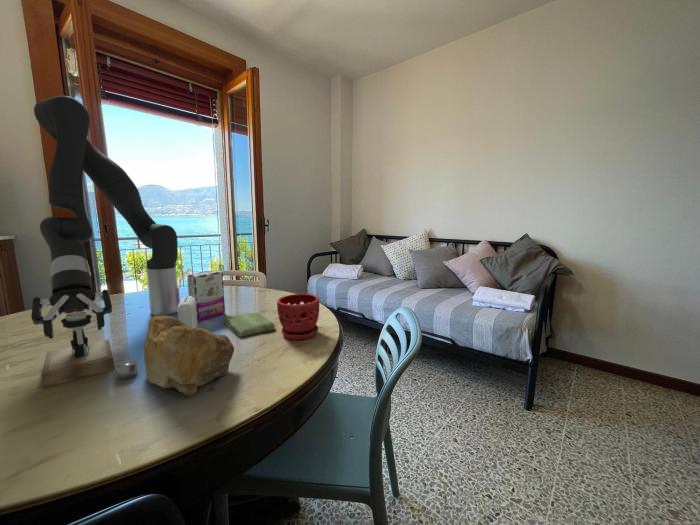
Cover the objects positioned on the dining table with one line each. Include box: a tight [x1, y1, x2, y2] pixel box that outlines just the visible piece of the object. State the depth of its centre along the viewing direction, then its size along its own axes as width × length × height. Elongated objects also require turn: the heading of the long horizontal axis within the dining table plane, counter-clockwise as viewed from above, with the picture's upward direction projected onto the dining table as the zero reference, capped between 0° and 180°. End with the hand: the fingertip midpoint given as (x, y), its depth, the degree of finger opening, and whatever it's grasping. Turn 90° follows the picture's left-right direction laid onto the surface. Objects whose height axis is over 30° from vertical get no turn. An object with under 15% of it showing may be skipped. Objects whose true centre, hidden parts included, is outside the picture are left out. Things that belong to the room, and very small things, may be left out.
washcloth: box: [223, 311, 275, 338], centre depth 101 cm, size 13×18×3 cm
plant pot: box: [276, 293, 320, 341], centre depth 94 cm, size 13×13×12 cm
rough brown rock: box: [143, 315, 235, 397], centre depth 68 cm, size 23×17×15 cm
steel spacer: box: [114, 359, 139, 381], centre depth 69 cm, size 4×4×3 cm
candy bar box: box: [186, 270, 226, 323], centre depth 109 cm, size 11×5×16 cm, turn 148°
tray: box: [41, 339, 115, 389], centre depth 73 cm, size 12×14×3 cm
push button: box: [60, 311, 92, 358], centre depth 72 cm, size 7×5×10 cm
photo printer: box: [177, 295, 199, 328], centre depth 91 cm, size 10×4×12 cm, turn 20°
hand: (76, 332), depth 70 cm, fingers open, 8 cm apart
